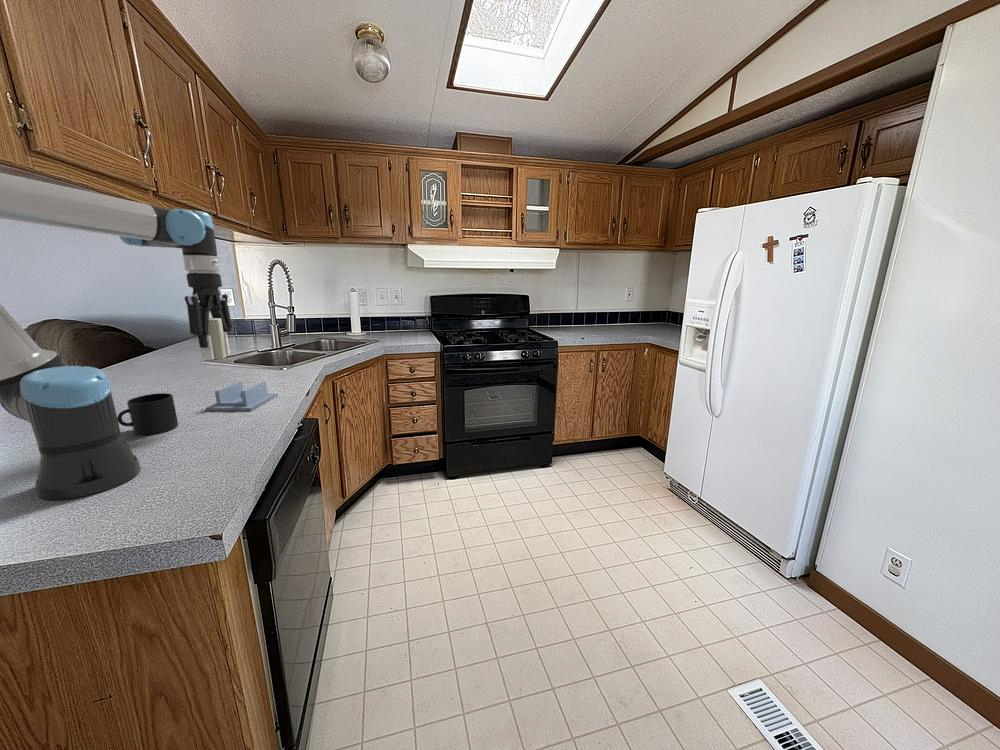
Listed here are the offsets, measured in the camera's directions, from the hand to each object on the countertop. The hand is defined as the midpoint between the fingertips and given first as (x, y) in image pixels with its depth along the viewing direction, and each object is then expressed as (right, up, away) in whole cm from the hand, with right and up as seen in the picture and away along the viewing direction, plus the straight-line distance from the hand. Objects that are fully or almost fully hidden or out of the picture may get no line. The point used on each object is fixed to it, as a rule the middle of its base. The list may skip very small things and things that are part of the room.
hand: (216, 356), depth 113 cm
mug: (-16, -21, -3) cm, 26 cm away
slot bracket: (-5, -15, +20) cm, 25 cm away
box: (0, -1, 0) cm, 1 cm away
